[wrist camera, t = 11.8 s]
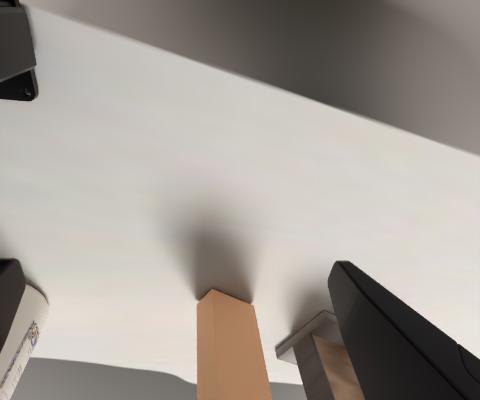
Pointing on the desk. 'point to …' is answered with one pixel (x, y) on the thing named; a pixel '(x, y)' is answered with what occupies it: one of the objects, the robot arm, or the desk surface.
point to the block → (229, 351)
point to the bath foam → (21, 339)
